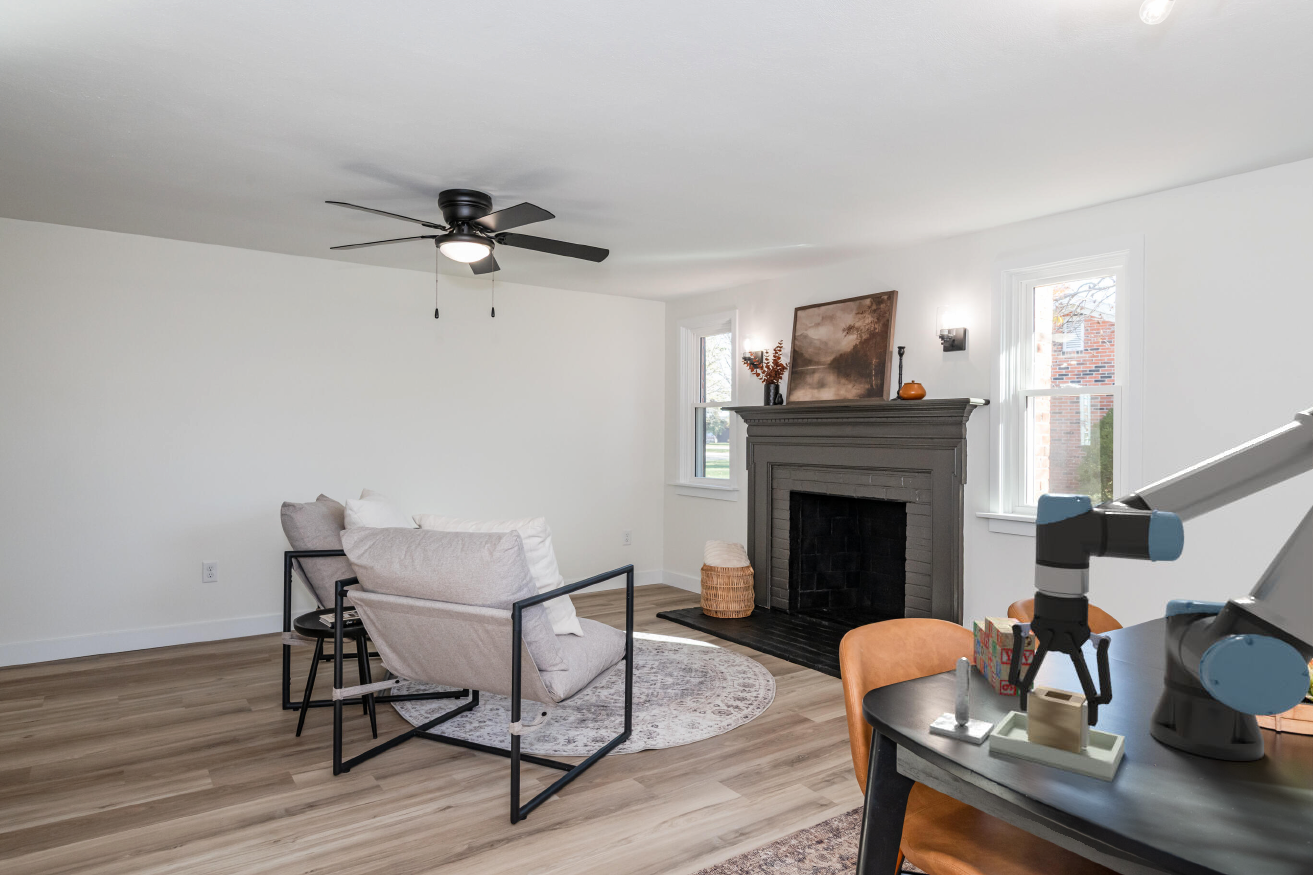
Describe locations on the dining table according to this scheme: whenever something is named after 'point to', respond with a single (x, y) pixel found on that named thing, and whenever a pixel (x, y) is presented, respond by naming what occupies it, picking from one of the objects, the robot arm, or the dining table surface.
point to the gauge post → (962, 712)
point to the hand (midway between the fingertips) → (1057, 738)
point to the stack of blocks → (1000, 652)
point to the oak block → (1055, 718)
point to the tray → (1089, 761)
